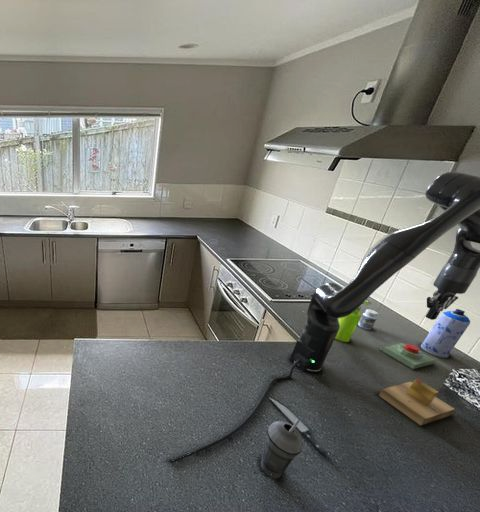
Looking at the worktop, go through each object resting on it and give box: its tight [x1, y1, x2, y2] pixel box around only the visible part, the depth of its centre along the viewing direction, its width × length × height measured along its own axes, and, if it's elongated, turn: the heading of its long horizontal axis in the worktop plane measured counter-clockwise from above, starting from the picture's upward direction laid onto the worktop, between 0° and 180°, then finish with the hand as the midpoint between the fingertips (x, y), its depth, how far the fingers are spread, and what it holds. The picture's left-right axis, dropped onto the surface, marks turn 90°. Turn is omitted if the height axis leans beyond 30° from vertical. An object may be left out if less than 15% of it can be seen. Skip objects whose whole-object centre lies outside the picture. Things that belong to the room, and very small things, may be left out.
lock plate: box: [378, 381, 456, 426], centre depth 90 cm, size 14×11×3 cm
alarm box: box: [382, 342, 435, 370], centre depth 111 cm, size 11×10×4 cm
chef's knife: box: [269, 397, 327, 457], centre depth 83 cm, size 19×1×3 cm
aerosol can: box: [420, 308, 471, 358], centre depth 112 cm, size 8×8×20 cm
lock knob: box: [407, 379, 439, 406], centre depth 89 cm, size 5×2×6 cm, turn 17°
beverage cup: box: [260, 418, 304, 479], centre depth 68 cm, size 7×7×20 cm
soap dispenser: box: [335, 300, 372, 343], centre depth 118 cm, size 6×7×20 cm
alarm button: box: [405, 343, 420, 353], centre depth 110 cm, size 4×4×2 cm
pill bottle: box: [357, 308, 379, 330], centre depth 128 cm, size 5×5×8 cm
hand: (430, 318), depth 104 cm, fingers closed
